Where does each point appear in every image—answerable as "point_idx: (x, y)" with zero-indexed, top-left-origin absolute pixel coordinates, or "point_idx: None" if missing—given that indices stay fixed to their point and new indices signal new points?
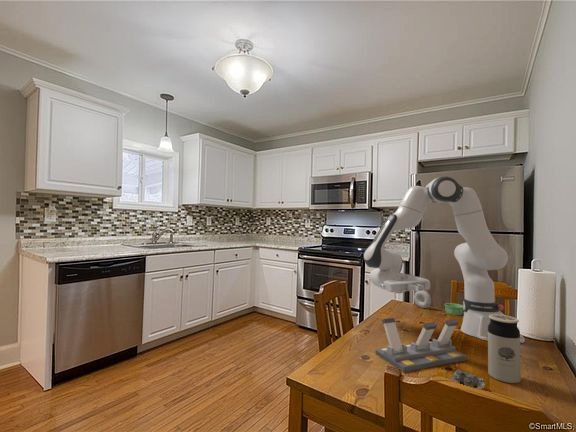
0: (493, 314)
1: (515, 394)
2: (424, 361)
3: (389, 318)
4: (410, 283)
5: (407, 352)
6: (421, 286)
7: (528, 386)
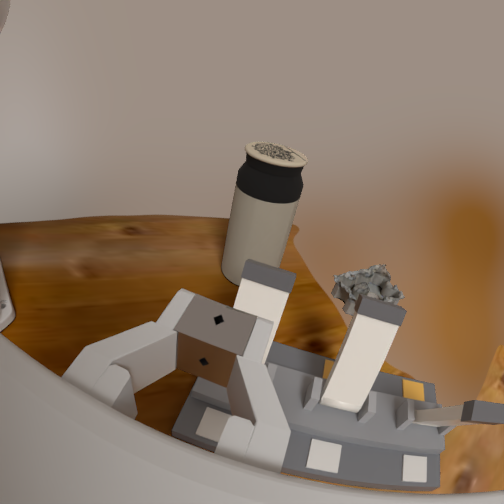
0: (267, 157)
1: (299, 258)
2: None
3: (491, 402)
4: (205, 452)
5: (393, 410)
6: (208, 301)
7: None
